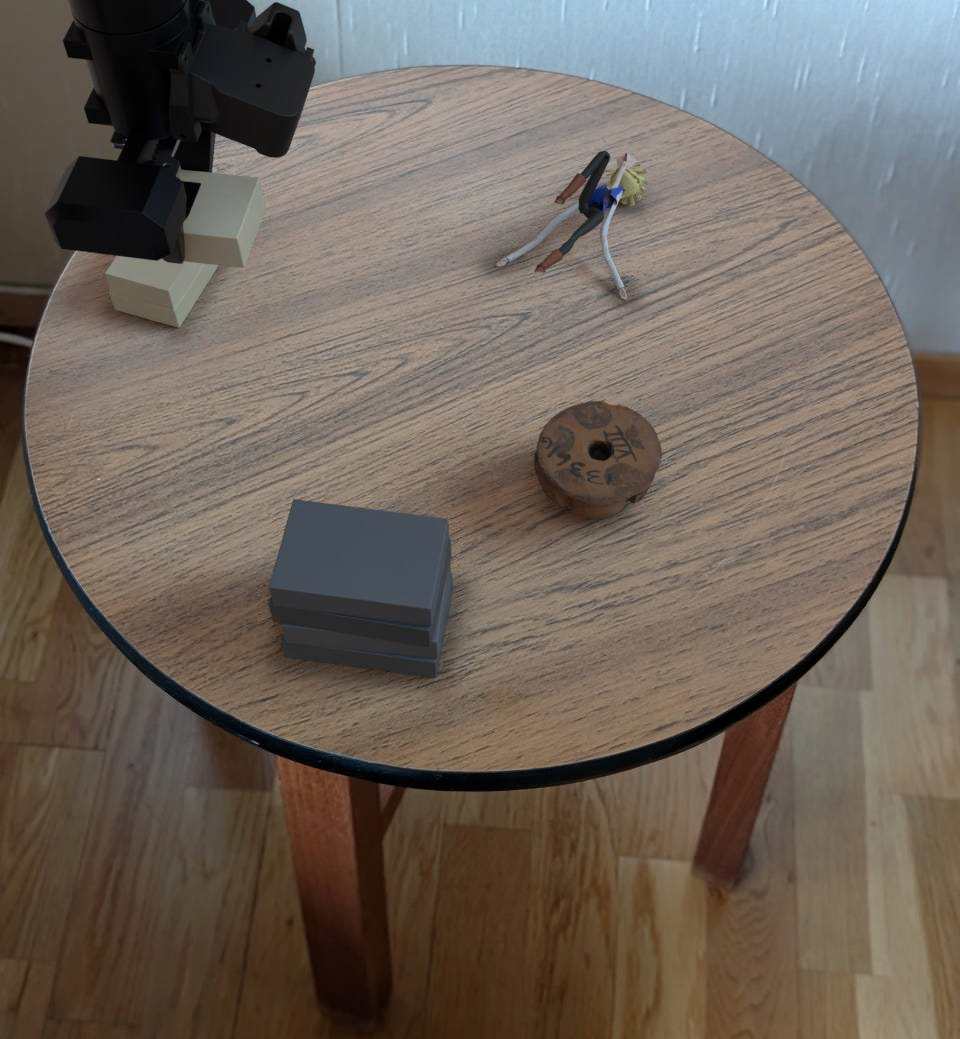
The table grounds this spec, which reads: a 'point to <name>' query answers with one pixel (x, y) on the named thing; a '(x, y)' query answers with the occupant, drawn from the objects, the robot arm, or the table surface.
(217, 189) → the cream block
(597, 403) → the artifact
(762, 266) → the table surface
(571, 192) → the figurine
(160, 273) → the sage lidded box
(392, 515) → the grey stack
